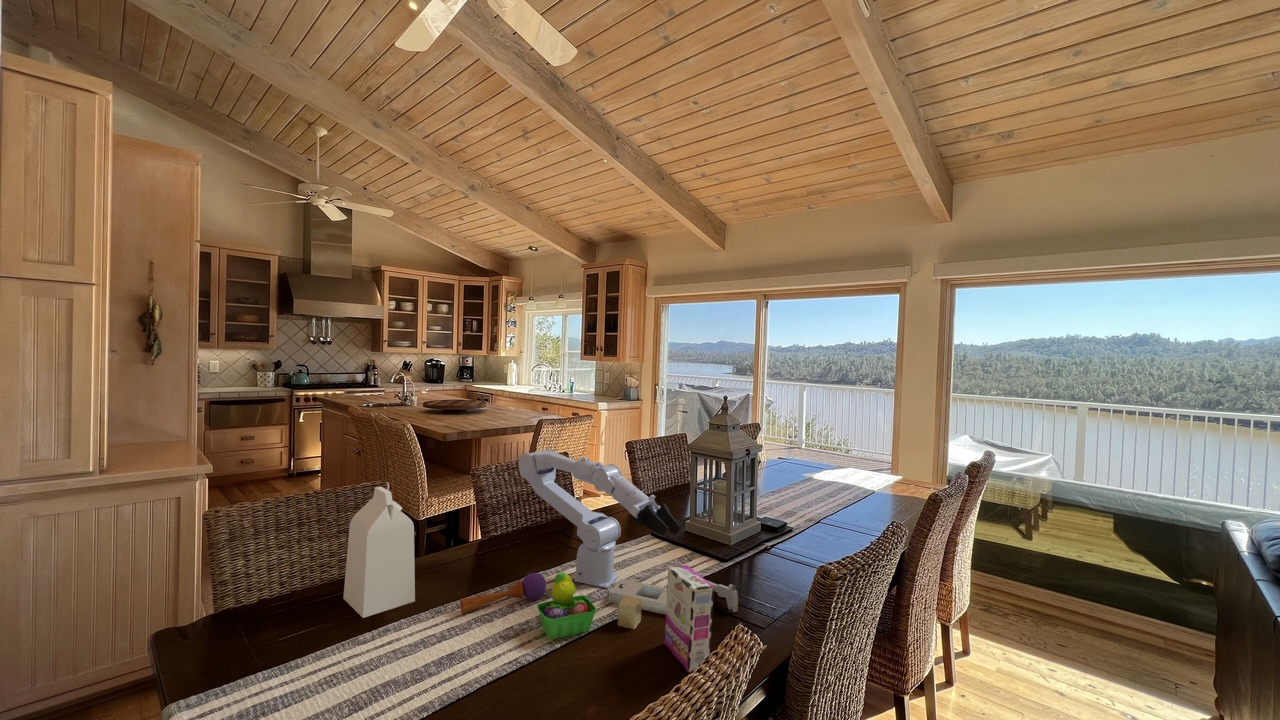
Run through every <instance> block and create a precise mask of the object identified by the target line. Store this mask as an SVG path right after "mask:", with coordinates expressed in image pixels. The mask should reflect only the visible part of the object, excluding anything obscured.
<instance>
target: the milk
mask: <svg viewBox="0 0 1280 720" xmlns="http://www.w3.org/2000/svg"><path fill="white" fill-rule="evenodd" d="M402 510H403V507H402V506H401V505H400V504H398V503H397V502H396V501H394V500H393V495H392V491H390V490H388V489H386V488H385V487H383V486H376V487H374V490H373V496H372V498H371V499H370V500H369V501H368V502H366V504H365V505H363V506H362V508H360V509H359V510H358V512H357V511H356V513H355V514H354V515H353V517H352V518H351V520H350V522H349V528H348V529H349V532H348V543H347V550H346V551H347V553H346V563H345V566H346V567H345V575H344V576H345V577H344V588H343V600H344V601H345V602H346V603H347V604H348V605H349V606H350V607H351V609H352V608H353V609H354V611H355V612H356V613H357V614H358V615H360V617H362V619H364V618H367V617H370V616H373V615H378V614H379V613H383V612H385V611H389V610H392V609H396V608H398V607H401V606H404V605H408V604H411V603H414V602H415V601H416V586H415V583H416V581H415V580H416V579H415V576H416V574H415V573H416V572H415V526H414V522H413V521H412V519H411V518H410V517H409V516H408V515H407V514H405V513H404V512H403V511H402Z"/></svg>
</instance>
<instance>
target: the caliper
mask: <svg viewBox="0 0 1280 720" xmlns="http://www.w3.org/2000/svg"><path fill="white" fill-rule="evenodd" d="M705 580H706V581H708V582H709V583H710V584H711V585H713V586H714V591H713V592H715V593H717V596H718V597H720V598H725V601H726V605H727V608H728V610H729V611H731V610H732V613H737V612H738V610H739V608H738V607H739V595H738V591H737V590H736V585H733V584H732V583H731V584H728V586H726V585H723V584H721V583H719V584H717V583H714V582H713V581H710V580H707V579H705Z"/></svg>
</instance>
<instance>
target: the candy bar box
mask: <svg viewBox="0 0 1280 720" xmlns="http://www.w3.org/2000/svg"><path fill="white" fill-rule="evenodd" d="M667 569H668V570H667V571H668V572H667V573H668V574H667V587H666V588H667V602H666V615H665V619H664V620H665V621H664V622H665V623H664V645H665V646H666V647H667V649H668V650H669V652H671V653H672V655H673V656H674V657H675V659H677V661H678V662H679V663H680V664H681V665H682V667H683V668H684V669H685V671H687V672H688V673H693V672H692V671H693V670H694V669H695V668H697V667H698V666H699V665H700V664H701V663H702V662H703V661H704V660H705V659H706V658H707V657H708V656H709V655H710V656H711V641H712V639H711V638H712V623H713V605H714V592H715V591H714V586H713V585H711V584H710V583H709V582H708V581H709V580H707V579H705V578H704V577H703V576H702V575H700V574H699V573H698V572H696V571H695V570H694V569H693V568H691V566H689V565H688V564H686V565H677V566H671V567H667ZM706 580H707V581H706Z"/></svg>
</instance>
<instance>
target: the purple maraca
mask: <svg viewBox="0 0 1280 720" xmlns="http://www.w3.org/2000/svg"><path fill="white" fill-rule="evenodd" d="M546 589H547V581H546V579H545V577H544V576H543V575H542V574H541V573H538V572H532V573H528V574H527V575H525V576H524V578H523V579H522V581H520V580H518V581H517V582H515V583H514V584H513V585H512V586H510V587H509V588H508V589H507V590H506V591H502V592H500V591H499V592H496V593H489V594H483V595H475V596H470V597H465V598H460V600H459V603H460V604H459V606H460V612H461V613H462V615H465V614H468V613H470V612H472V611H475V610H477V609H480V608H482V607H484V606H487V605H489V604H492V603H494V602H496V601H499V600H502V599H504V598H507V597H509V598H516V599H521V600H523V599H524V597H525V598H526V599H527V600H536V599H540V598H541V597H542V596H543V595H544V594H545V591H546Z"/></svg>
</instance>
